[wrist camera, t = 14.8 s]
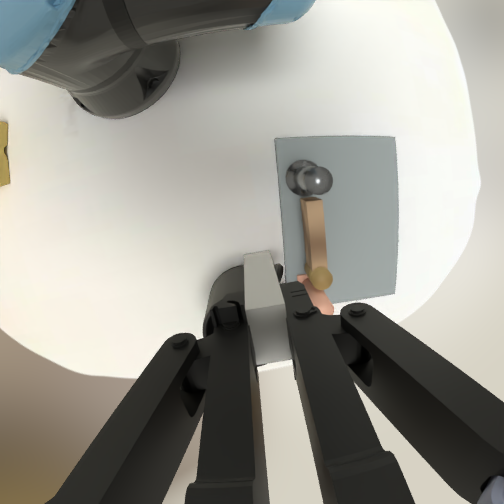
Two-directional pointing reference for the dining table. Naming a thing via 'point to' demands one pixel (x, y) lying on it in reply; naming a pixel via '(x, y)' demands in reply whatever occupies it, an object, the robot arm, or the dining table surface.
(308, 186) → the pivot post
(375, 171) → the mat
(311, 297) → the post
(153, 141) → the dining table surface
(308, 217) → the gate
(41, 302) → the dining table surface
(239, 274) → the mug
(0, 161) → the cheese
